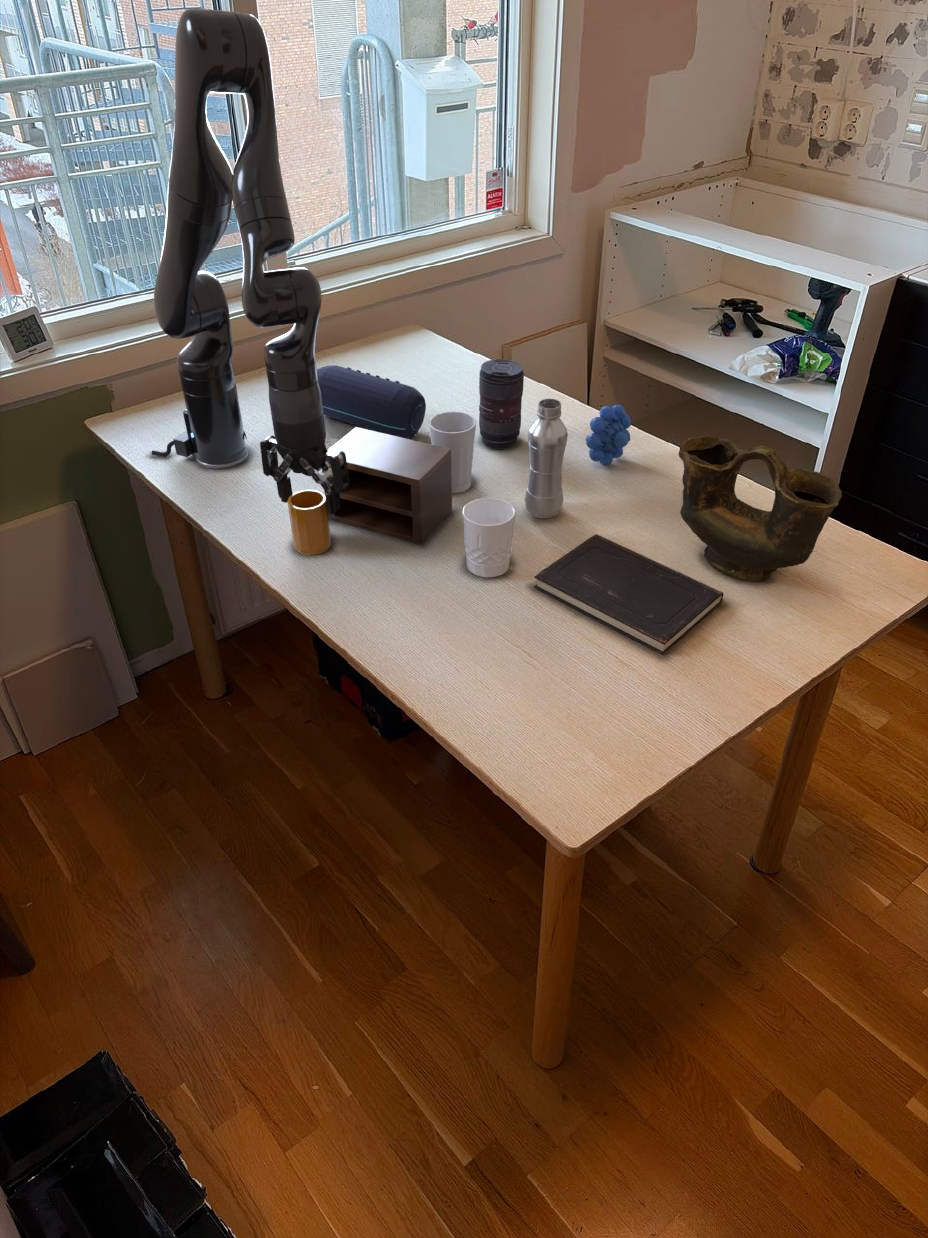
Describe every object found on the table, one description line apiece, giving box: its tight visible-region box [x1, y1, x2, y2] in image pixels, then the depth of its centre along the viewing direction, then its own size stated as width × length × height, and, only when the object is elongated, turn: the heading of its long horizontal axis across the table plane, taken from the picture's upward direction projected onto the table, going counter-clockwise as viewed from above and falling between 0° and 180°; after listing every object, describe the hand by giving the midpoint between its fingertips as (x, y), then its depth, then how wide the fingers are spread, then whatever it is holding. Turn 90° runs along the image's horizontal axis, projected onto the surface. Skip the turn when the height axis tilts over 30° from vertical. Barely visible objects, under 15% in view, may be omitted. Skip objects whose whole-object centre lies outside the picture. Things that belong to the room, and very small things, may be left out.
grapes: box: [585, 403, 632, 466], centre depth 165 cm, size 12×7×12 cm, turn 133°
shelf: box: [321, 426, 453, 546], centre depth 152 cm, size 18×11×12 cm, turn 64°
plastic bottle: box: [524, 398, 569, 519], centre depth 150 cm, size 6×7×20 cm
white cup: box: [462, 497, 516, 578], centre depth 141 cm, size 8×8×10 cm
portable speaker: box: [317, 364, 427, 439], centre depth 178 cm, size 25×10×10 cm, turn 58°
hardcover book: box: [533, 533, 725, 656], centre depth 138 cm, size 16×23×2 cm
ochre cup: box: [287, 489, 332, 556], centre depth 146 cm, size 6×6×8 cm
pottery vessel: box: [678, 434, 843, 582], centre depth 139 cm, size 25×11×20 cm, turn 49°
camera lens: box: [478, 358, 525, 450], centre depth 171 cm, size 8×8×15 cm
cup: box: [428, 411, 477, 494], centre depth 160 cm, size 8×8×12 cm
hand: (309, 505), depth 145 cm, fingers open, 8 cm apart
